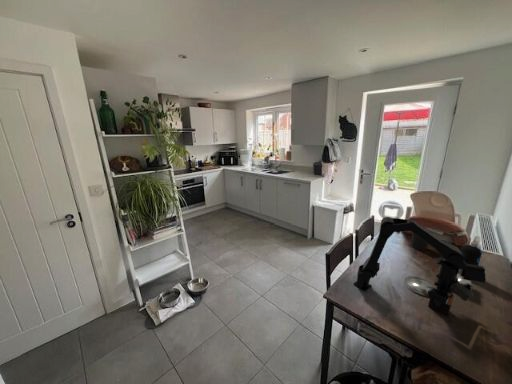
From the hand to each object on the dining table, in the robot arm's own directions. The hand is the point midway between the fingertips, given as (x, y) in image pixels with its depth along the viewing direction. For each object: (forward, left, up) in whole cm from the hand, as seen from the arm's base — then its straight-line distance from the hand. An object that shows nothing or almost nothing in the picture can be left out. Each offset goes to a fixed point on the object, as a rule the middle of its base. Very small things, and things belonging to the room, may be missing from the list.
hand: (439, 304), depth 92 cm
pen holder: (+54, +26, -3) cm, 60 cm away
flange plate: (+10, +10, -3) cm, 14 cm away
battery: (0, 0, -3) cm, 3 cm away
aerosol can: (+41, 0, -3) cm, 41 cm away
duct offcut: (+25, -2, -3) cm, 25 cm away
